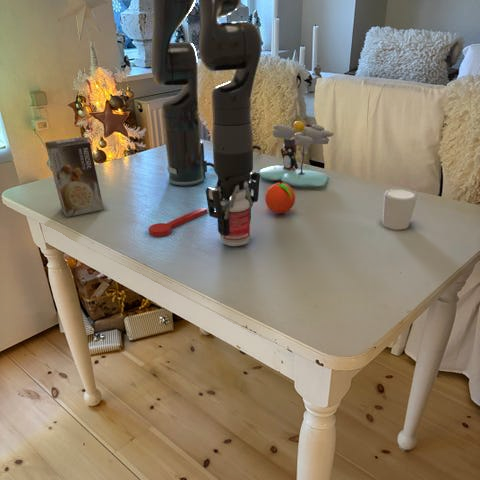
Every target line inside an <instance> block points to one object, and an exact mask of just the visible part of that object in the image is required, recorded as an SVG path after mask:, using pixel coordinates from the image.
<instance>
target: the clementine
mask: <svg viewBox="0 0 480 480" xmlns="http://www.w3.org/2000/svg"><path fill="white" fill-rule="evenodd" d="M264 197H265V198H264V201H265V205H266V206H267V209H269V211H272V213H274V214H286V213H287V212H289V211H291V209H292V208H293V207H294V205H295V202H296V194H295V191H294V189H293V188H292V186H290V185H287V184H285V183H283V182H276V183H274V184H272V185H271V186H269V188H267V190H266V192H265V196H264Z"/></svg>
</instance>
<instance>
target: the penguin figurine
mask: <svg viewBox="0 0 480 480" xmlns="http://www.w3.org/2000/svg"><path fill="white" fill-rule="evenodd" d="M273 129H274V130H273V132H272V136H273V137H274V138H277V139H282V140H283V144H282V146H283V147H282V148H281V149H280V153H281V156H282V160H283V161H282V164H283V165H272V166H267V167H263V168H262V169H260V170H259V171H258V173H260V179H263V180H266V181H272V182H278V181H279V182H280V181H281V183H285V184H287V185H289V186H290V187H294V188H295V187H296V188H303V189H305V188H322V187H324V186H326V185H327V184H328V181H329V180H330V176H329V175H327V174H325V173H323V172H320V171H314V170H310V169H307V168H309V166H310V162H308V163H306V165H305V169H303V165H304V164H305V162H304V160H305V155H306V156H308V154H309V152H308V151H307V150H306V149H307V148H308V149H309V148H310V147H311V145H312V144H313V145H316V144H319V145H328V144H329V143H330V137H333V136H334V132H333V131H330V130H326V129H325V127H324V126H322V125H320V124H312V125H311V126H306V125H305V123H304V122H303V121H301V120H297V121H295V122H294V123H293V127H292V126H290V125H287V124H284V125H283V124H277V123H276V124H274V125H273ZM293 135H294V137H293ZM295 139H296V140H295ZM296 146H297V147H298V148H296ZM301 147H302V149H301ZM297 150H299V151H298V153H299V154H300V155H301V156H300V158H296V155H295V154H296V151H297ZM271 154H272V155H274V152H273V151H272V152H271ZM299 160H301V163H299V164H298V162H299ZM312 160H316V158H315V157H314V156H313V157H312ZM298 165H299V166H300V167H299V166H298Z"/></svg>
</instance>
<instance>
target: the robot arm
mask: <svg viewBox="0 0 480 480" xmlns="http://www.w3.org/2000/svg"><path fill="white" fill-rule="evenodd" d="M195 3H196V0H152V12H153V14H152V15H153V16H152V17H153V18H152V20H153V21H152V34H151V37H152V38H151V48H150V49H151V52H150V66H151V67H150V68H151V76H152V78H153V80H154V83H156V85H158V86H160V87H176V86H177V87H178V86H179V87H180V86H182V89H181V91H180V92H178V93H177V94H176V95H174V96H173V97H171V98H169V99H167V100H165V101H164V102H163V103H162V105H161V112H162V120H163V131H164V138H165V139H164V140H165V141H164V142H165V148H166V150H165V151H166V158H167V160H166V161H167V166H166V167H167V172H168V181H169V183H170V184H171V185H173V186H179V187H190V186H195V185H196V186H197V185H199V184H201V183H203V181H204V180H205V179H206V173H207V172H208V166H209V167H211V168H213V171H214V173H215V174H216V176H217V182H216V185H215V186H214V187H206V188H205V196H206V203H207V211H208V215H209V217H211V218H214V219H217V231H218V233H219V234H221V235H224V236H228V235H229V234H230V233H229V218H228V217H229V213H230V209H231V208H233V206H234V202H235V199H236V194H238V191H239V190H241V189H244V190H246V197H245V198H246V199H247V200H248V201H249V205H250V222H251V220H252V207H253V205H254V203H257V202H258V200H259V194H260V193H259V192H260V181H261V177H260V173H259V172H257V171H254V149H256V150H258V151H261V150H262V148H261V146H259V145H255V144H254V132H253V125H252V97H253V90H254V85H255V81H256V80H255V79H256V77H257V72H258V68H259V64H260V59H261V56H262V46H263V45H262V37H261V34H260V32H259V29H258V28H257V26H256V25H255V24H254V23H252V22H251V21H250V22H249V21H232V22H231V21H230V22H219V19H221V18H223V17H226V16H228V15H231V14H232V13H234V12H236V10H237V9H238V8H239V6H240V4H241V0H198V6H199V32H198V33H199V35H198V55H199V58H200V61H201V64H203V66H204V67H205V68H206V69H207V70H209V71H211V72H224V71H225V72H226V71H235V73H234V76H233V77H232V79H231V80H230V81H228V82H226V83H223V84H221V85H218V86H216V87H215V88H213V90H212V92H211V106H212V107H211V108H212V134H211V135H212V139H211V140H212V156H213V159H212V160H213V163H212V162H208V161H207V159H205V149H204V148H205V147H204V143H203V142H202V140H201V139H202V137H201V127H200V126H201V125H200V124H201V123H200V108H199V77H198V75H199V71H198V69H199V68H198V67H199V66H198V56H197V50H196V48H195V46H194V44H193V43H191V42H189V41H182V42H180V41H179V42H171V41H172V38H173V36H174V34H175V32H176V31H177V29H178V28H179V27H180V26H181V24H182V23H183V22H184V20H185V19H186V18H187V16H188V15H189V14H190V12H191V11H192V9H193V7H194V6H195ZM252 191H253V193H252ZM223 198H224V199H225V200H228V201H229V202H228V203H226V202H224V201H223ZM222 206H225V210H224V212H222Z"/></svg>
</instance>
